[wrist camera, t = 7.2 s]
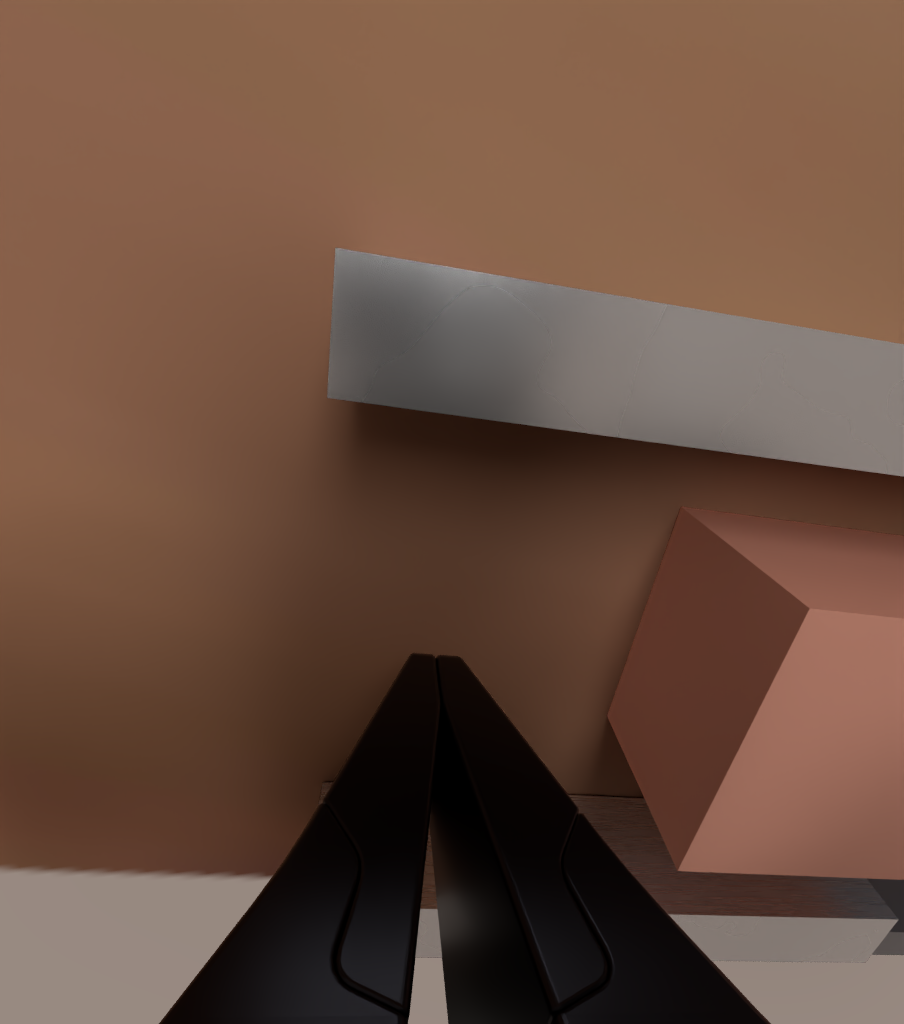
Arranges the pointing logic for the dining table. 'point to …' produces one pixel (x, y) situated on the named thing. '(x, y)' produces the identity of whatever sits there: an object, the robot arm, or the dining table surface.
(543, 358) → the slot rails
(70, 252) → the dining table surface
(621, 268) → the dining table surface
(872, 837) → the block
